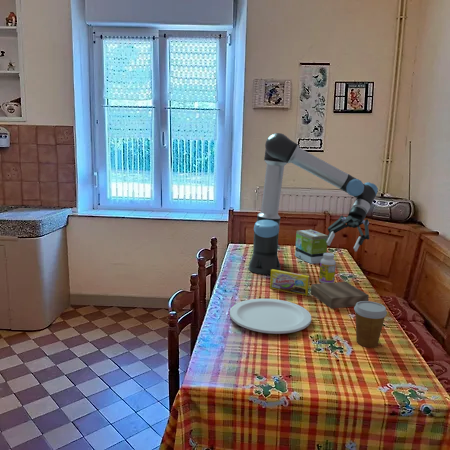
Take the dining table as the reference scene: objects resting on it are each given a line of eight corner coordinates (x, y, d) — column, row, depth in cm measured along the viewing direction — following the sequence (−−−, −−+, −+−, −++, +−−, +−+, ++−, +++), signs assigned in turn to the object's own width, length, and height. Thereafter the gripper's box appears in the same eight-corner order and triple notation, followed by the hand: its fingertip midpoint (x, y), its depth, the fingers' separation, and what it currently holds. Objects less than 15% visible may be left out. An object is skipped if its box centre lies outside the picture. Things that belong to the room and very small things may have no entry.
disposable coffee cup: (358, 332, 135) (361, 298, 133) (387, 342, 129) (391, 306, 127) (346, 343, 128) (349, 306, 126) (376, 353, 122) (381, 315, 120)
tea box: (294, 256, 225) (295, 230, 222) (309, 255, 230) (311, 228, 227) (310, 264, 212) (312, 236, 209) (326, 262, 216) (328, 234, 213)
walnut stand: (330, 308, 155) (331, 298, 154) (310, 293, 170) (311, 284, 169) (367, 305, 159) (368, 295, 158) (345, 290, 174) (345, 281, 174)
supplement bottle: (316, 279, 187) (318, 252, 185) (329, 279, 189) (331, 251, 187) (323, 284, 181) (325, 256, 179) (336, 283, 183) (339, 255, 180)
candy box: (269, 288, 174) (270, 270, 173) (271, 287, 176) (272, 268, 174) (306, 296, 167) (308, 276, 165) (308, 294, 169) (309, 275, 167)
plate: (224, 333, 132) (224, 327, 132) (234, 301, 159) (234, 295, 159) (313, 342, 128) (314, 335, 128) (308, 307, 156) (309, 301, 155)
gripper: (386, 219, 191) (369, 257, 183) (337, 212, 207) (319, 246, 200) (383, 209, 186) (364, 247, 178) (333, 202, 203) (314, 237, 195)
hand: (340, 246), depth 189 cm, fingers open, 13 cm apart
